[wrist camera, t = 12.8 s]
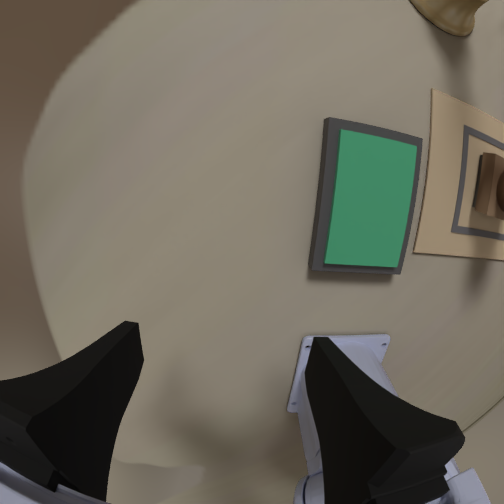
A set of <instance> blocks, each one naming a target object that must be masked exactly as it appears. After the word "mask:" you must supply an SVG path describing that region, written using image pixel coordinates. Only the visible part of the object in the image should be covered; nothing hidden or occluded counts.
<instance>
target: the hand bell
mask: <svg viewBox="0 0 504 504" xmlns="http://www.w3.org/2000/svg"><path fill="white" fill-rule="evenodd" d="M410 1H411V2H412V3H413V5H414V6H415V7H416V8H417V9H418V10H419V12H420V13H421V14H423V15H424V16H425V17H426V18H427V19H428V20H430V21H431V22H432V23H433V24H435V25H436V26H437V27H439V28H440V29H442V30H444V31H446V32H448V33H450V34H453V35H456V36H466V35H468V34H470V33H471V31H472V30H473V27H474V23H475V17H474V15H475V12H476V11H477V9H478V8H479V7H480V6H482V5H483V4H484V3H486V2H487V1H488V0H410Z"/></svg>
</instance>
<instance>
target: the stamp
mask: <svg viewBox="0 0 504 504" xmlns="http://www.w3.org/2000/svg"><path fill="white" fill-rule="evenodd" d="M472 207H474V208H475V211H478V212H481V213H483V214H486V215H489V216H492V217H495V218H498V219H501V220H504V158H503V157H501V156H499V155H497V154H494V153H486V152H483V155H480V158H479V167H478V174H477V181H476V188H475V194H474V200H473V205H472Z"/></svg>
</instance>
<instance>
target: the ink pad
mask: <svg viewBox="0 0 504 504" xmlns="http://www.w3.org/2000/svg"><path fill="white" fill-rule="evenodd" d="M422 140H423V139H422V138H418V137H415V136H411V135H408V134H404V133H400V132H397V131H393V130H389V129H385V128H381V127H376V126H372V125H367V124H363V123H358V122H353V121H348V120H342V119H337V118H331V117H329V118H326V119H324V129H323V142H322V153H321V164H320V174H319V184H318V193H317V202H316V210H315V218H314V226H313V234H312V241H311V248H310V255H309V262H308V264H309V266H310V268H311V270H314V271H334V272H355V273H377V274H401V270H402V266H403V261H404V257H405V253H406V248H407V244H408V239H409V234H410V229H411V224H412V219H413V213H414V207H415V201H416V194H417V187H418V180H419V172H420V163H421V152H422Z"/></svg>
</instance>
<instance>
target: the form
mask: <svg viewBox="0 0 504 504" xmlns="http://www.w3.org/2000/svg"><path fill="white" fill-rule="evenodd" d="M483 152H486V153H494V154H497V155H499V156H501V157H503V158H504V123H502V122H501V121H499V120H497V119H495V118H494V117H492V116H490V115H488V114H486V113H485V112H483V111H481V110H479V109H477V108H475V107H473V106H471V105H469V104H467V103H465V102H463V101H461V100H459V99H456V98H454V97H452V96H450V95H447V94H445V93H443V92H440V91H438V90H436V89H433V88H432V89H431V124H430V141H429V154H428V164H427V173H426V181H425V189H424V195H423V202H422V208H421V214H420V219H419V225H418V230H417V235H416V239H415V244H414V249H413V252H418V253H430V254H442V255H453V256H465V257H476V258H487V259H497V260H504V220H501V219H498V218H495V217H492V216H489V215H486V214H483V213H481V212H478V211H475V208H474V207H472V205H473V200H474V194H475V188H476V181H477V174H478V167H479V158H480V155H483Z"/></svg>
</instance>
